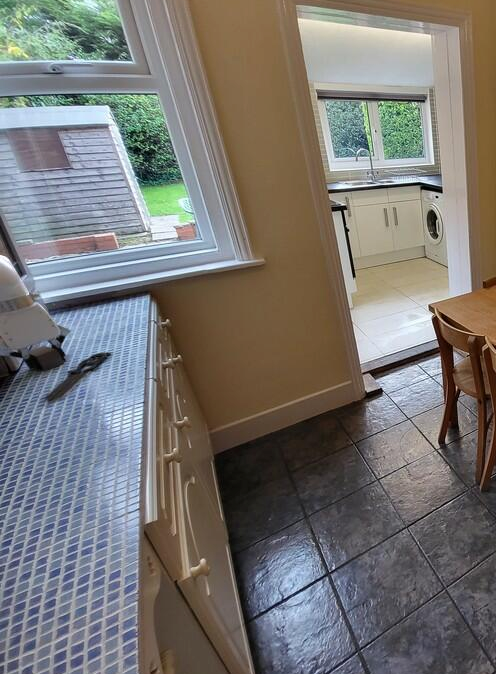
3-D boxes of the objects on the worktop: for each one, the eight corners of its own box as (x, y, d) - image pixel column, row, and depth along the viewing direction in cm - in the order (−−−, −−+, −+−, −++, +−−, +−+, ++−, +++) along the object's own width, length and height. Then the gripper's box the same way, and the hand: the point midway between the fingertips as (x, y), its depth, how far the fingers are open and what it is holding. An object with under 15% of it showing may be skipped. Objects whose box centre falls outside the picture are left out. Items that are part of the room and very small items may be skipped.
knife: (58, 405, 95) (55, 400, 94) (24, 410, 94) (21, 405, 93) (119, 354, 117) (117, 349, 117) (92, 358, 116) (90, 353, 115)
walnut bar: (64, 363, 114) (56, 349, 112) (45, 370, 110) (36, 356, 108) (52, 359, 116) (44, 345, 114) (33, 366, 113) (24, 352, 111)
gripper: (48, 291, 114) (81, 348, 122) (-44, 315, 100) (0, 378, 108) (61, 294, 111) (94, 352, 119) (-32, 319, 97) (12, 383, 105)
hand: (49, 364), depth 113 cm, fingers open, 4 cm apart
